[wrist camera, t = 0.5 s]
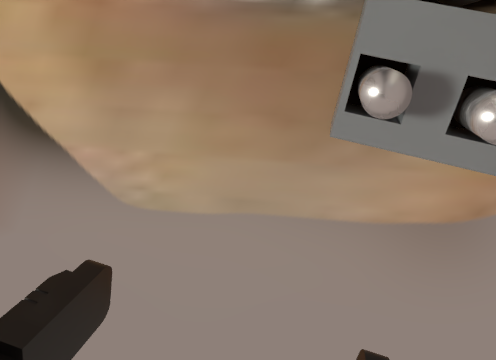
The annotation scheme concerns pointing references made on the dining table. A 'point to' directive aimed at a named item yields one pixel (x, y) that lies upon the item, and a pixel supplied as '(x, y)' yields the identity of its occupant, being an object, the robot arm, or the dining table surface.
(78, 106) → the dining table surface
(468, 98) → the plunger
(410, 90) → the plunger
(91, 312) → the robot arm
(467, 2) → the tumbler with domed lid
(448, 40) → the housing
